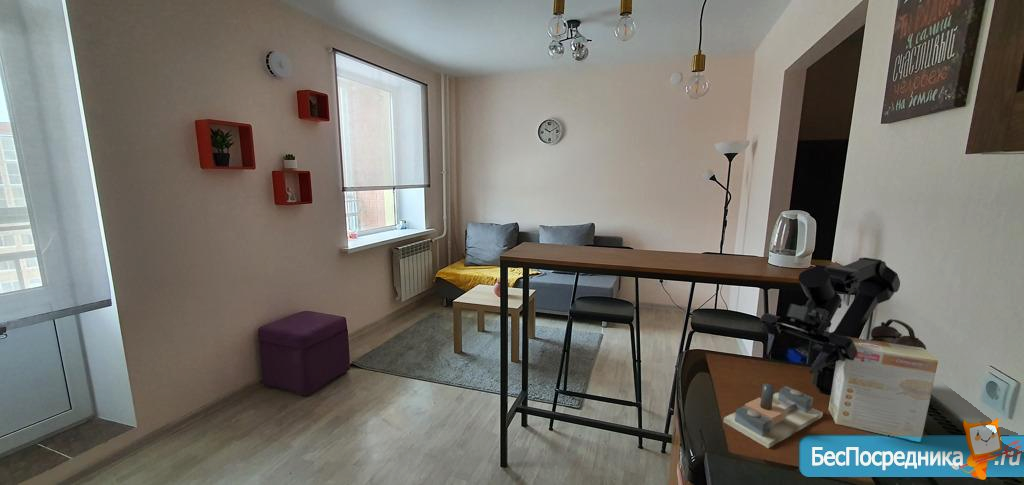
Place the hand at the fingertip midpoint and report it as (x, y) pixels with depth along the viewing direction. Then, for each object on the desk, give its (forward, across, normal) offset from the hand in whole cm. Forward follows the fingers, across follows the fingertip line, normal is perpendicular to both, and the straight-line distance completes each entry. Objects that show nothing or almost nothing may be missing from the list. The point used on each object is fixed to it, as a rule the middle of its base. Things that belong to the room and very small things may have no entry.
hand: (788, 364), depth 92 cm
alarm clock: (-16, +8, +36) cm, 40 cm away
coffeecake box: (-1, +12, +20) cm, 23 cm away
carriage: (+13, 0, +2) cm, 13 cm away
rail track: (+12, 0, +7) cm, 14 cm away
